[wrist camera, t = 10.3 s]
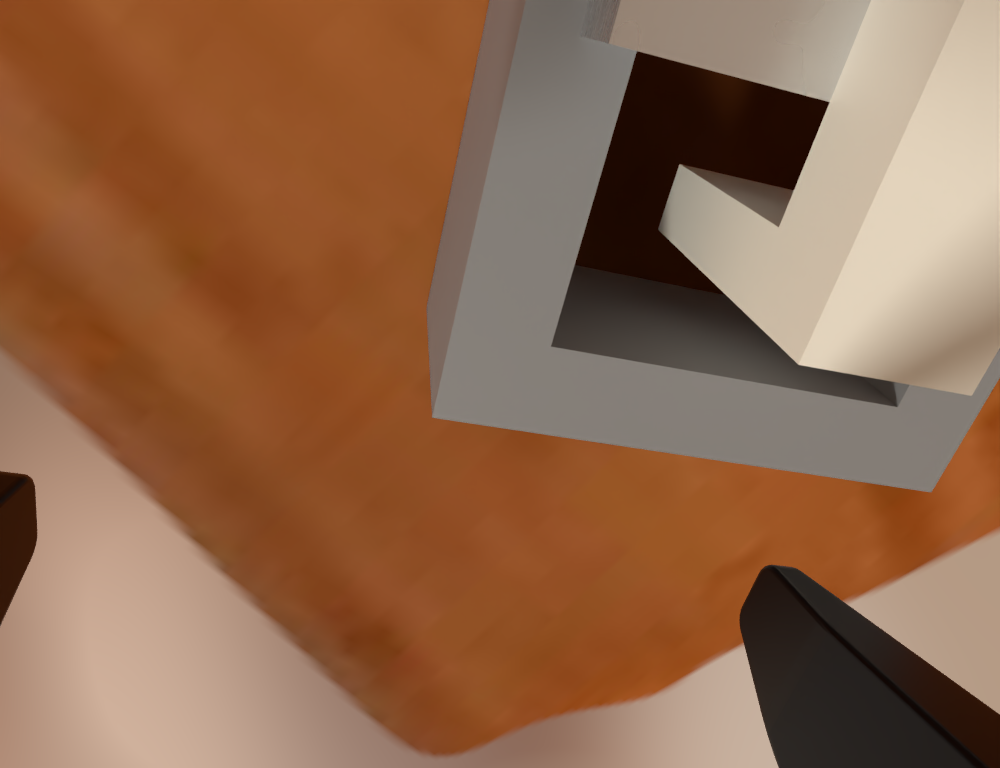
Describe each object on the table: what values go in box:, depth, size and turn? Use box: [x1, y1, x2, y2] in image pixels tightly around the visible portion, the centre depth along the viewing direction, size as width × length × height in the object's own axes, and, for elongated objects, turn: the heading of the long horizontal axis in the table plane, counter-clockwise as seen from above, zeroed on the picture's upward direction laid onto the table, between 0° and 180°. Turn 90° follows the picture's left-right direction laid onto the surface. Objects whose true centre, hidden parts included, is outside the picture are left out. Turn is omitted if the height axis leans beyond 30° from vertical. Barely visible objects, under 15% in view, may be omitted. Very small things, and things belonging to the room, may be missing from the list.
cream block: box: [658, 0, 1000, 396], centre depth 12 cm, size 3×9×7 cm, turn 167°
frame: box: [427, 0, 1000, 492], centre depth 15 cm, size 12×17×6 cm
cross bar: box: [580, 0, 871, 102], centre depth 12 cm, size 10×2×2 cm, turn 76°
